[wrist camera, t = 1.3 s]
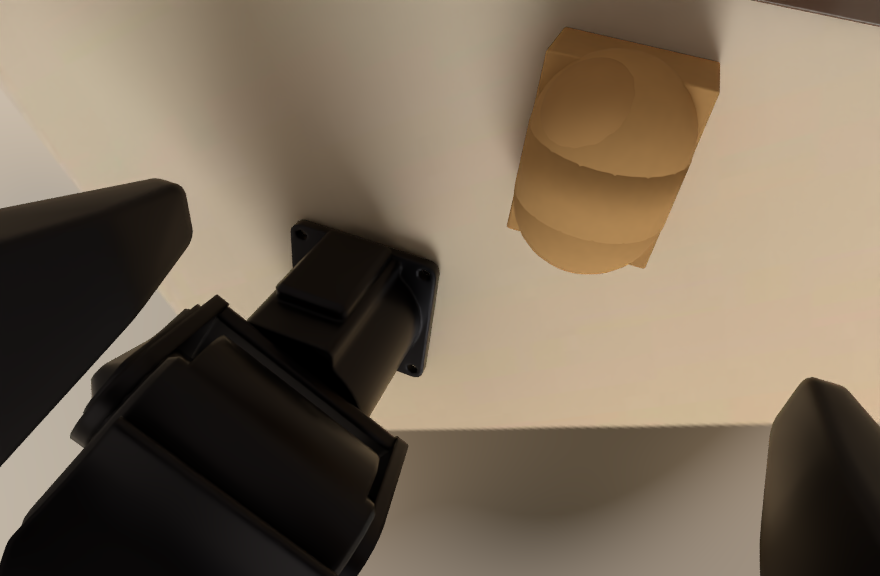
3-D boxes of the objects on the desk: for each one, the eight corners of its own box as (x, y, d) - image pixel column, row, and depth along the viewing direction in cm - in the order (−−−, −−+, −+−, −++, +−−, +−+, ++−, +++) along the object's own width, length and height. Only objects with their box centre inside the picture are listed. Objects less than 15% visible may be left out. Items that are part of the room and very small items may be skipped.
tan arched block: (647, 240, 20) (631, 324, 17) (522, 203, 21) (483, 276, 18) (727, 46, 16) (727, 107, 13) (568, 11, 17) (529, 58, 14)
